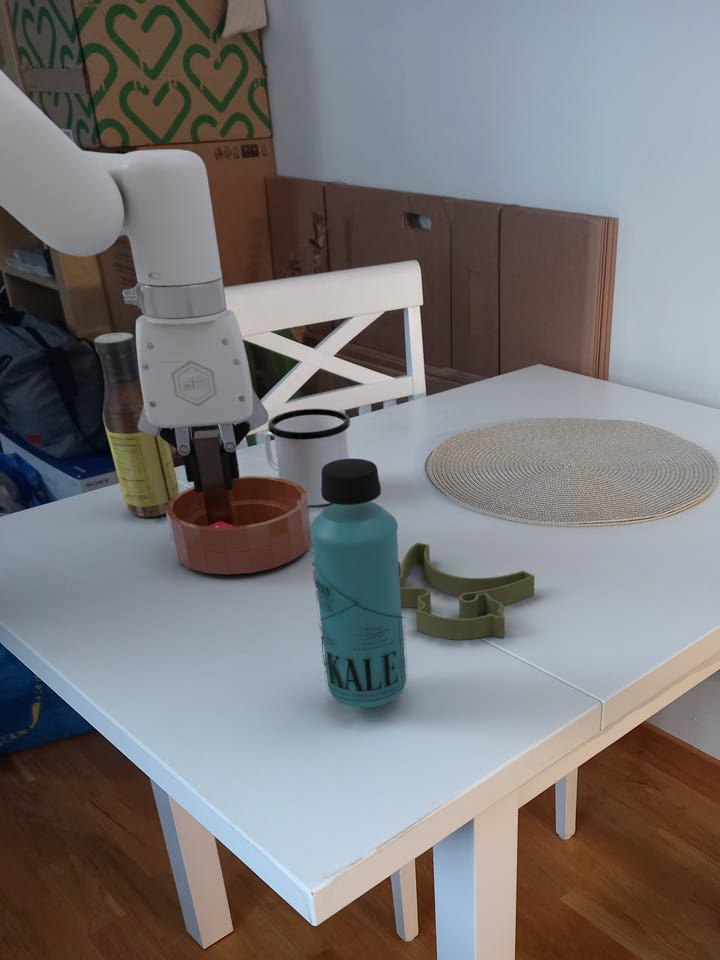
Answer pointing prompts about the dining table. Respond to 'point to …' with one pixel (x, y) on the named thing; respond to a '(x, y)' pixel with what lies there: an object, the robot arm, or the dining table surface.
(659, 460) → the dining table surface
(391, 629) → the beverage bottle
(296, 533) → the bowl
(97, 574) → the dining table surface
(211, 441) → the stick
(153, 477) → the sauce bottle
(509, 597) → the cookie cutter
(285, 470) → the mug
